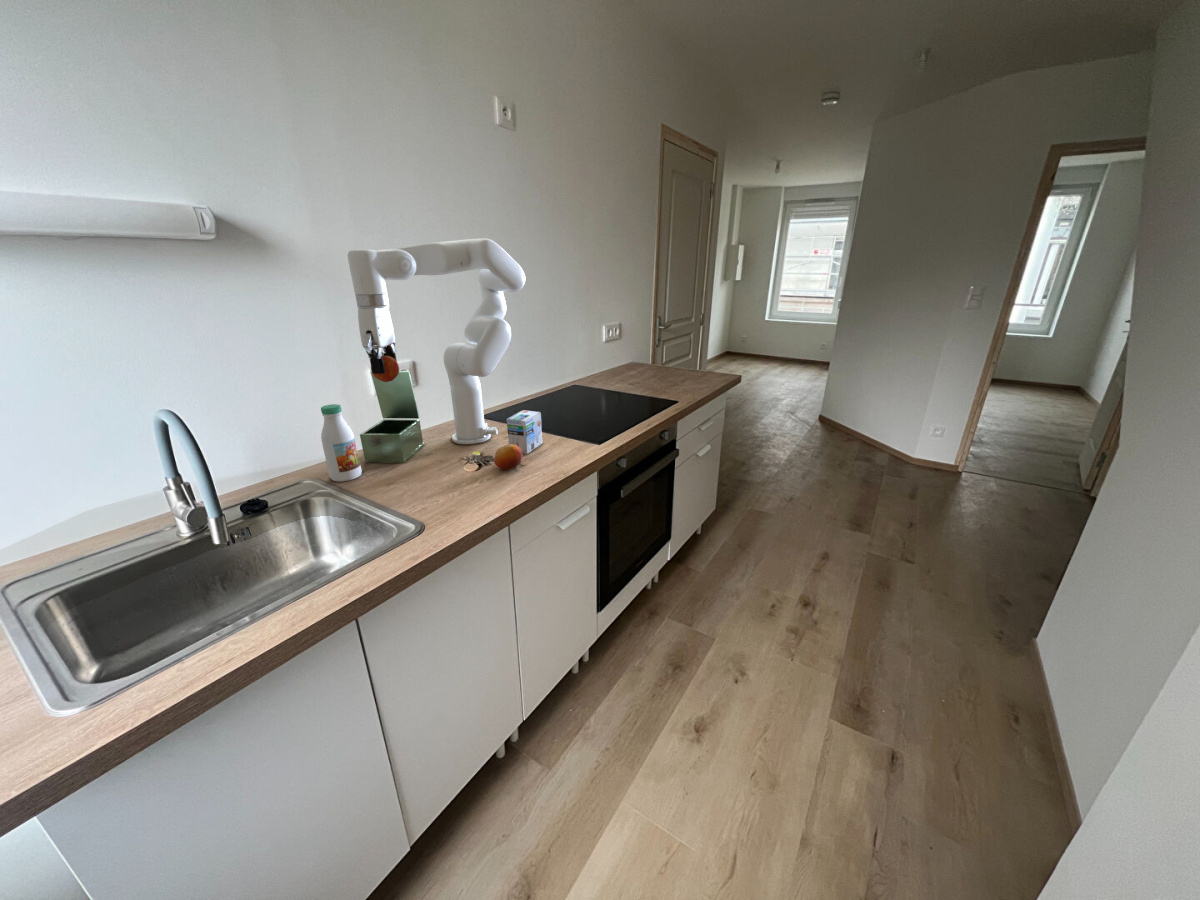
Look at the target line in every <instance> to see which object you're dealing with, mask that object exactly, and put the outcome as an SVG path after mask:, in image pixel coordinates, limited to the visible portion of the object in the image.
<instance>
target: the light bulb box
mask: <svg viewBox="0 0 1200 900" xmlns="http://www.w3.org/2000/svg"><path fill="white" fill-rule="evenodd" d="M506 427H507V437H508V438H507V441H508V444H515V445H517V446H518V447H520V449H521V451H522V454H525V455H528V454H529V453H531V452H533V451H534V450H535V449H536V448H539V446H541V445H543V432H542V413H541V411H534V410H533V411H532V410H524V409H523V410H520V411H518V412H517V413H515V414H513V415H512V416H509V417H508V418H506Z"/></svg>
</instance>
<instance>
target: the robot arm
mask: <svg viewBox="0 0 1200 900" xmlns="http://www.w3.org/2000/svg"><path fill="white" fill-rule="evenodd" d="M347 261H348V266H349V271H350V276H351V281H352V286H353V291H354V296H355V301H356V306H357V321H358V329H359V334H360V336H359V337H360V341H361V346H362V347H363V349H364V350H365V352H366V354H367V357H368V359H369V362H370V369H371V368H372V373H373V374H384V373H385V368H384V362H383V358H381V356H382V353H381V352H382V350H383V356H390V357H392V358H394V359H395V360H396V361H397V354H396V348H395V347H396V343H395V342H396V336H395V331H394V330H395V329H394V325H393V322H392V317H391V312H390V309H389V308H390V302H389V301H390V300H389V295H388V290H387V284H386V281H407V280H409V279H411V278H413V276H444V275H449V274H455V273H461V272H467V271H475V270H479V273H478V282H479V286H480V289H481V301H480V303H479V304H478V307H477V308H476V310H475V311H474V313H473V314H472V316H471V317H470V319H469V320H468V322H467V324H466V326H465V328H464V332H463V335H464V339H465V341H466V343H465V342H454V343H451V344H449V345H448V346H447V347H446V348H445V350H444V352H443V357H442V359H443V365H444V368H445V371H446V374H447V377H448V382H449V388H450V397H451V405H452V412H453V419H454V427H455V428H454V429H455V433H454V434H452V436H451V441H452V442H453V443H454V444H458V445H476V444H480V443H485V442H487V441H488V440H489V439H491V436H492V435H494V436H495V435H496V436H497V435H498V434H499V431H498V428H496V426H495V427H494V426H493V427H489V426H488V423H487V422H485V415H484V405H483V404H484V403H483V394H482V386H481V382H480V379H479V378H485V377H487V376H489V375H490V374H491V373H492V372H493V371H494V370H495V369H496V368H497V366H498V364H499V363H500V360H501V359H502V358H503V356H504V354H505V352H506V351H507V349H508V348H509V345H510V343H511V340H512V328H511V326H510V324H509V323H508V322H507V321H506V320H505V319H504V318H505V316H506V313H507V304H506V303H507V302H506V299H505V295H504V293H516V292H519V291H521V290H522V289H523V288H524V286H525V283H526V275H525V272H524V269H523V267H522V266H521V265H520V264H519V263H518V261H516V260H515V259H514V258H513V257H512V256H511V255H510V254H509V253H508V252H507V251H506V250H505V249H504V248H503V247H502V246H500V244H498V243H497V242H495V241H494V240H492V239H490V238H488V237H487V238H486V237H485V238H484V237H483V238H482V237H481V238H468V239H467V238H466V239H458V240H448V241H437V242H430V243H429V242H428V243H424V244H419V245H418V244H417V245H413V246H406V247H395V248H388V249H387V248H386V249H377V250H375V249H366V248H365V249H351V250H349V251H348V252H347ZM467 342H468V343H467ZM397 362H398V361H397Z"/></svg>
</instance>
